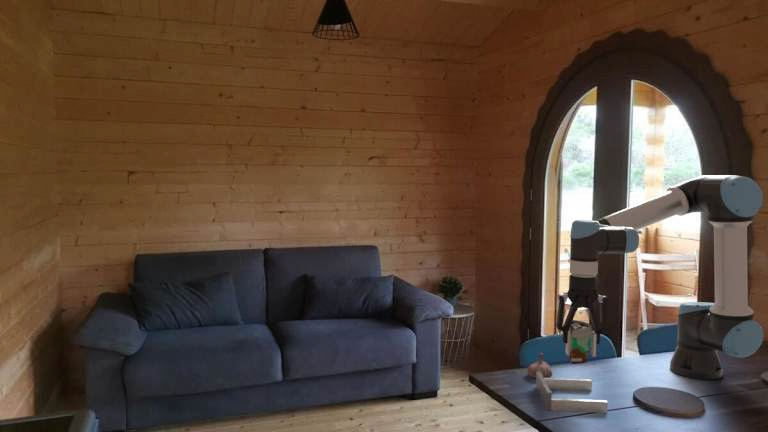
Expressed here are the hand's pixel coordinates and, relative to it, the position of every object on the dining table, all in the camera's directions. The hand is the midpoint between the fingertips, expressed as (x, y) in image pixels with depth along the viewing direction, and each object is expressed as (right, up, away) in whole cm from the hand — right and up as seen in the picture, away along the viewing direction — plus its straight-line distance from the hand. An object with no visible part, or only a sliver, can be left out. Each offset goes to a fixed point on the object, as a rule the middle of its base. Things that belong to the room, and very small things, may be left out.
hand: (580, 354), depth 170 cm
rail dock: (-2, -13, +1) cm, 13 cm away
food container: (0, -2, 0) cm, 2 cm away
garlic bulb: (-7, -12, +20) cm, 24 cm away
